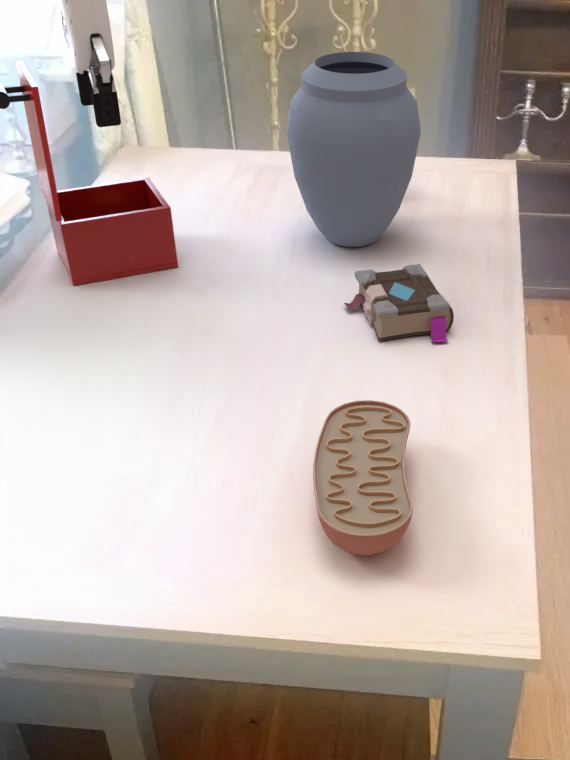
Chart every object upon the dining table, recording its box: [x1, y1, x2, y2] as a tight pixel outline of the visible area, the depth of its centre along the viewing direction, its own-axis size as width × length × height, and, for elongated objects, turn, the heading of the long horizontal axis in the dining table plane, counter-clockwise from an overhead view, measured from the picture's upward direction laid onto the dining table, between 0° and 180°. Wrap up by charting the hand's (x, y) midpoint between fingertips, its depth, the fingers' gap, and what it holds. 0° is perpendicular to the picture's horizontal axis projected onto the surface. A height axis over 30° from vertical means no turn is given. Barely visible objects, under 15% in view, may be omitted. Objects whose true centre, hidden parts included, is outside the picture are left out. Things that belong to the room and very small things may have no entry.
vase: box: [285, 51, 422, 248], centre depth 132 cm, size 20×20×24 cm
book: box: [343, 263, 455, 343], centre depth 122 cm, size 20×12×5 cm, turn 14°
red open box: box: [45, 176, 179, 287], centre depth 132 cm, size 16×13×9 cm
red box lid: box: [0, 60, 62, 221], centre depth 120 cm, size 16×13×5 cm
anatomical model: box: [312, 399, 413, 556], centre depth 92 cm, size 23×10×5 cm, turn 178°
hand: (100, 114), depth 121 cm, fingers open, 9 cm apart
